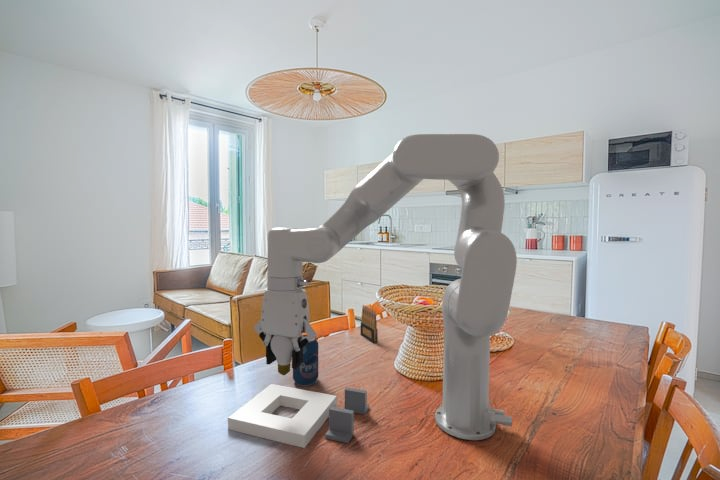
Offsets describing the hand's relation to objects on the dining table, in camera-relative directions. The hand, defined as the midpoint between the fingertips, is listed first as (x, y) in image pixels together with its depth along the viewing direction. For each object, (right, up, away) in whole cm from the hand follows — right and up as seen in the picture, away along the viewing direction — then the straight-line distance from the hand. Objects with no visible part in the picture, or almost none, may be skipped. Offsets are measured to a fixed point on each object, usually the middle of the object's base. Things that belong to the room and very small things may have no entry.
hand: (284, 363), depth 75 cm
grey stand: (+14, -12, -1) cm, 19 cm away
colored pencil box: (+20, -10, +53) cm, 57 cm away
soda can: (+2, -12, +18) cm, 21 cm away
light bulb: (0, -3, 0) cm, 3 cm away
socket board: (0, -12, +1) cm, 12 cm away
